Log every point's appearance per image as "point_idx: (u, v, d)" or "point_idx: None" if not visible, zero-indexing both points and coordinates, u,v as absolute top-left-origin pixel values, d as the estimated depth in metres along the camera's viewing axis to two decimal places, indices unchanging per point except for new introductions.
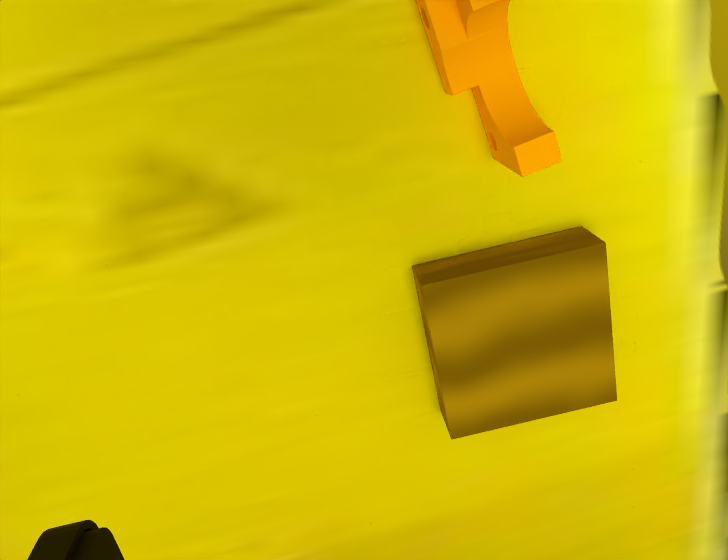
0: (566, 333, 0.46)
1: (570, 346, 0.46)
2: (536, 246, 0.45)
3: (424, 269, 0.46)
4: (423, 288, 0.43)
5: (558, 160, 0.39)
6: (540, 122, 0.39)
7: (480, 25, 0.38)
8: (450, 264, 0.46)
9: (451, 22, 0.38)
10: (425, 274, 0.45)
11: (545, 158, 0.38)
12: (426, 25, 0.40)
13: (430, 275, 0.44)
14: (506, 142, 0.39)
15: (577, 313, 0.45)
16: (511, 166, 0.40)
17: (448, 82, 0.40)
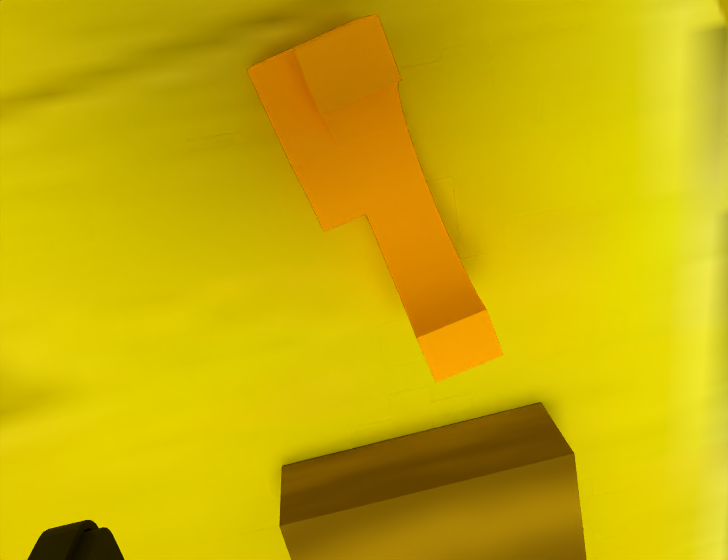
0: None
1: None
2: (468, 445, 0.29)
3: (296, 479, 0.29)
4: (283, 529, 0.27)
5: (497, 354, 0.22)
6: (467, 283, 0.23)
7: (355, 124, 0.22)
8: (335, 472, 0.29)
9: (304, 119, 0.22)
10: (293, 494, 0.29)
11: (474, 352, 0.22)
12: None
13: (300, 498, 0.28)
14: (409, 319, 0.23)
15: (532, 550, 0.29)
16: None
17: None
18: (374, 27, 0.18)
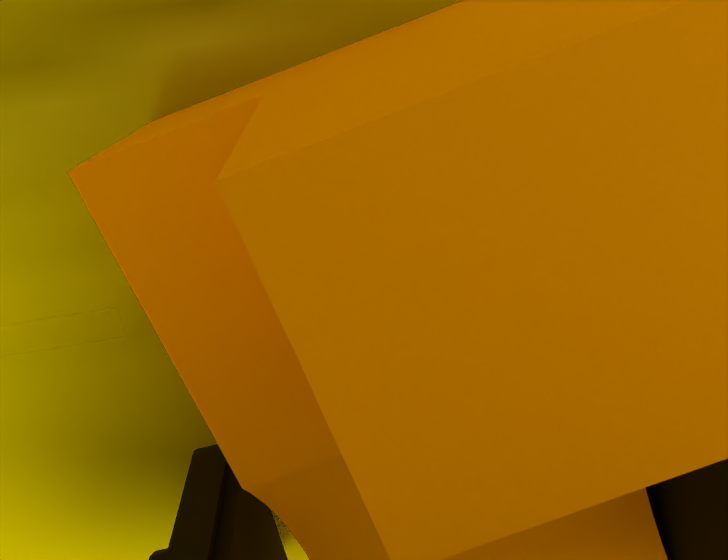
0: None
1: None
2: None
3: None
4: None
5: None
6: None
7: None
8: None
9: (292, 348, 0.06)
10: None
11: None
12: None
13: None
14: None
15: None
16: None
17: None
18: None
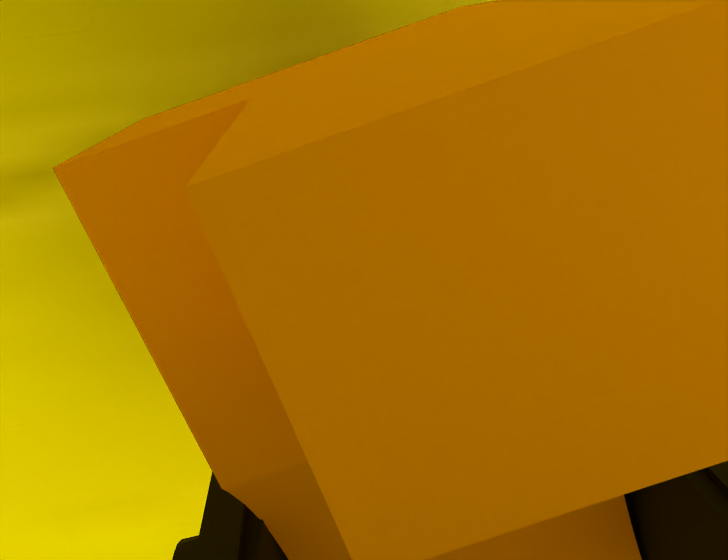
0: None
1: None
2: None
3: None
4: None
5: None
6: None
7: None
8: None
9: None
10: None
11: None
12: None
13: None
14: None
15: None
16: None
17: None
18: None
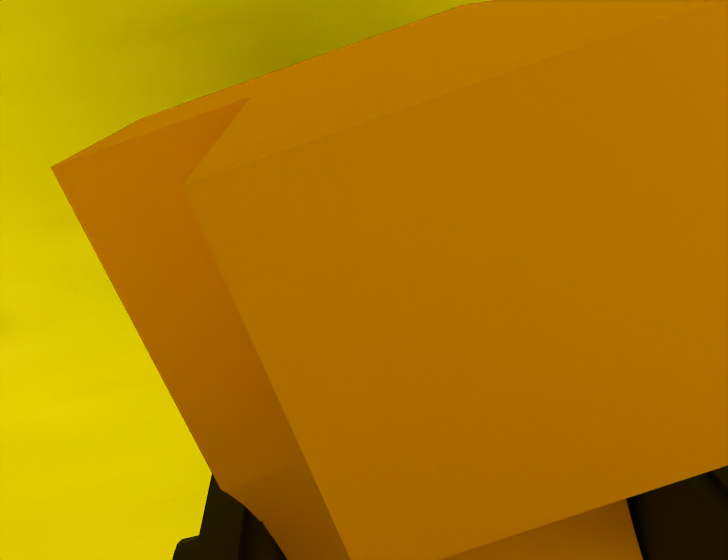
0: None
1: None
2: None
3: None
4: None
5: None
6: None
7: None
8: None
9: None
10: None
11: None
12: None
13: None
14: None
15: None
16: None
17: None
18: None
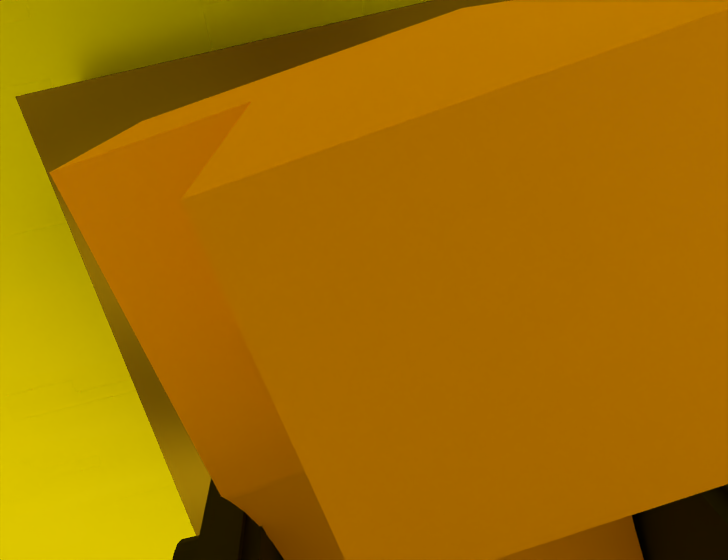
0: None
1: None
2: None
3: None
4: (24, 107, 0.13)
5: None
6: None
7: None
8: None
9: None
10: None
11: None
12: None
13: None
14: None
15: None
16: None
17: None
18: None
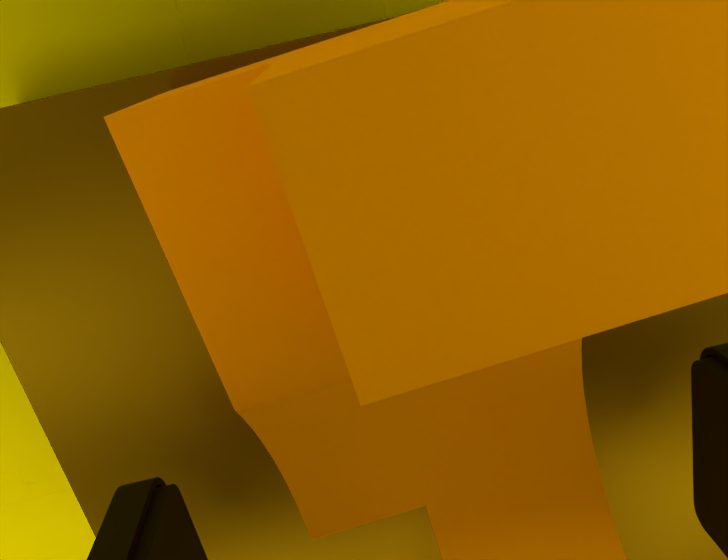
0: (585, 356, 0.11)
1: (604, 405, 0.12)
2: None
3: None
4: None
5: None
6: None
7: None
8: None
9: (286, 285, 0.07)
10: None
11: None
12: None
13: None
14: None
15: None
16: None
17: None
18: (716, 2, 0.03)
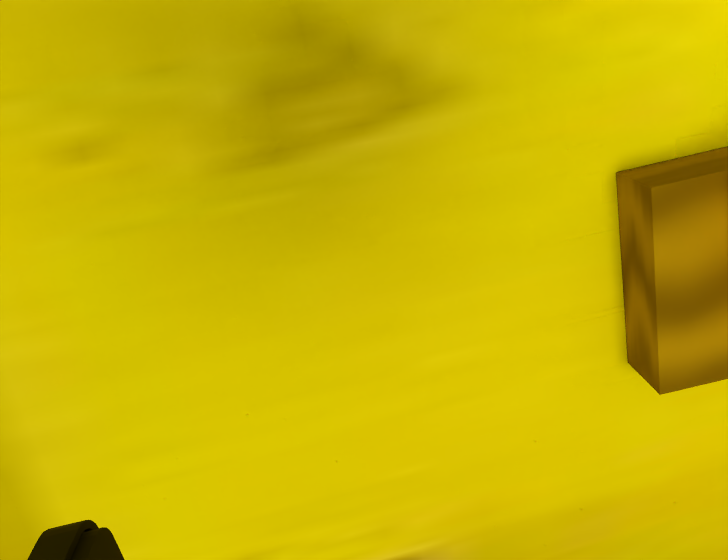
0: None
1: None
2: None
3: (639, 173, 0.36)
4: (653, 191, 0.33)
5: None
6: None
7: None
8: (672, 167, 0.35)
9: None
10: (645, 178, 0.35)
11: None
12: None
13: (654, 178, 0.34)
14: None
15: None
16: None
17: None
18: None
